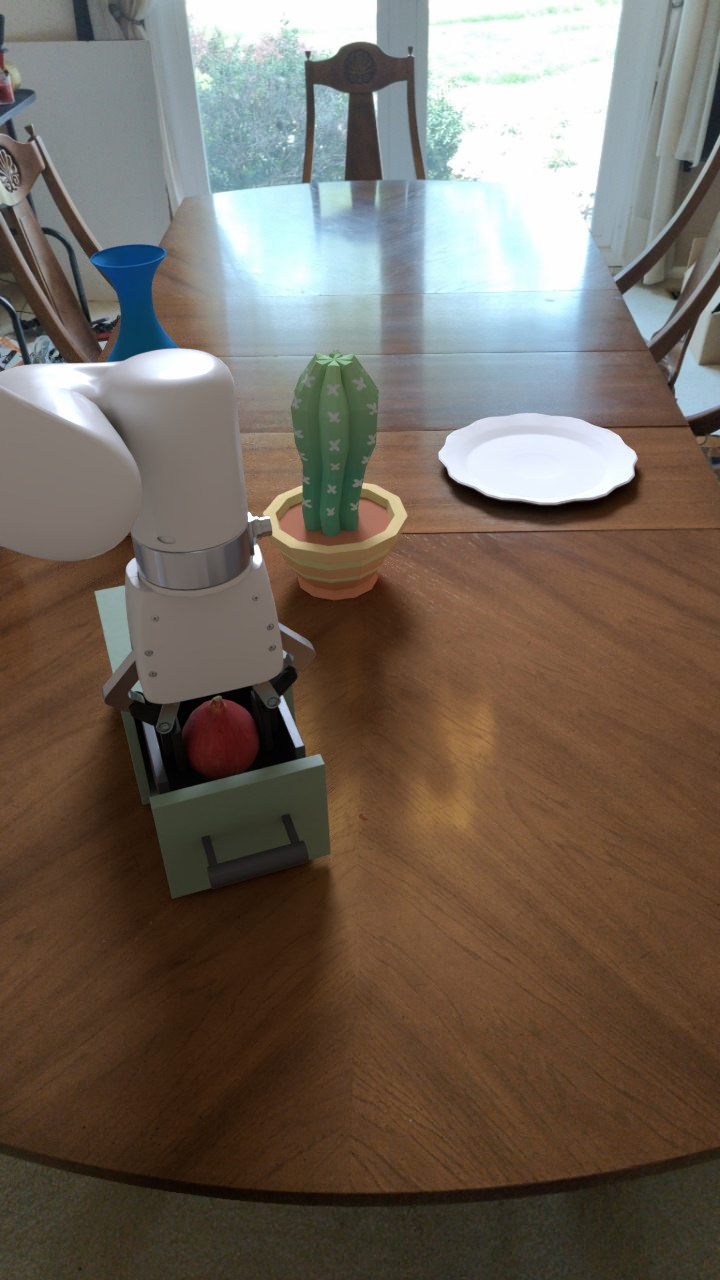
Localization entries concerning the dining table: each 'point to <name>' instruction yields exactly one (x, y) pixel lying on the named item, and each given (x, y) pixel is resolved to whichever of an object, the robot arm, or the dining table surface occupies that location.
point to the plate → (538, 459)
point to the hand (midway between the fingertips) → (221, 747)
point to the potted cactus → (335, 484)
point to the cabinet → (118, 649)
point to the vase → (134, 298)
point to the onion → (220, 739)
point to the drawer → (238, 808)
